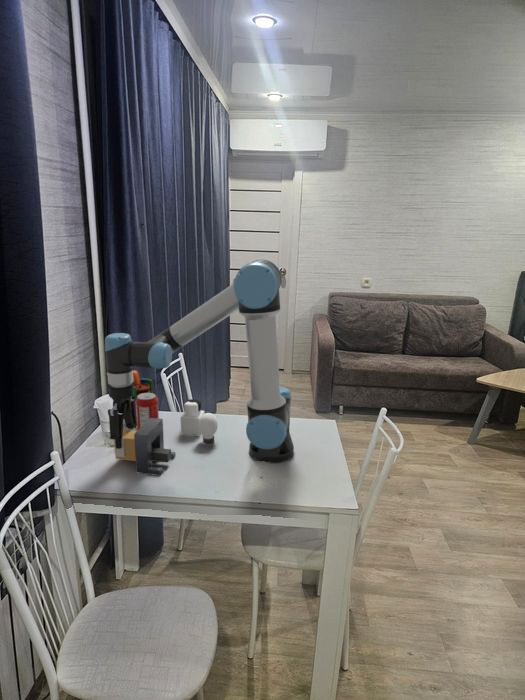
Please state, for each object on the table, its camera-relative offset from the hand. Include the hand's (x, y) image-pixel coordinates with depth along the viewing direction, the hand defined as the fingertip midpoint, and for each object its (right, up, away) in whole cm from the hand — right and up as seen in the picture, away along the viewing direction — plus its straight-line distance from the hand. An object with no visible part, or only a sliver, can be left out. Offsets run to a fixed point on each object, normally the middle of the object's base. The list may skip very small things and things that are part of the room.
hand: (125, 451), depth 142 cm
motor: (-4, +5, +30) cm, 31 cm away
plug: (+6, -2, -1) cm, 7 cm away
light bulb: (+25, 0, +14) cm, 29 cm away
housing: (+10, -4, -1) cm, 11 cm away
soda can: (+2, +2, +19) cm, 19 cm away
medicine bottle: (+18, +2, +22) cm, 29 cm away
